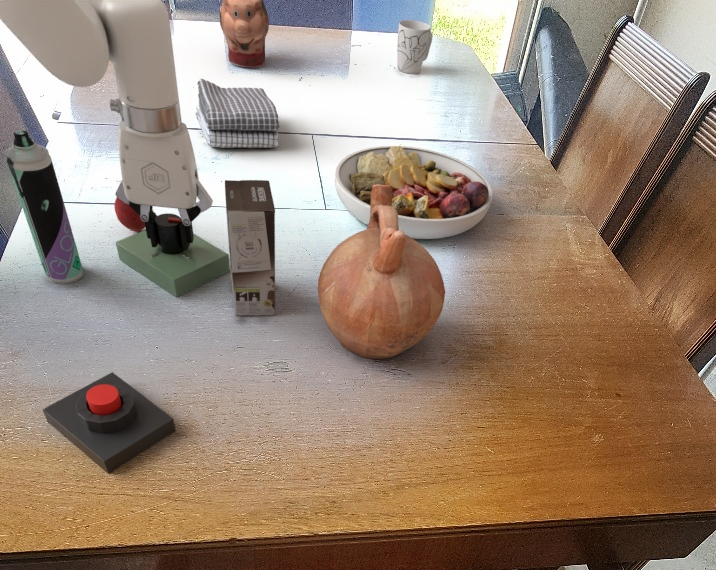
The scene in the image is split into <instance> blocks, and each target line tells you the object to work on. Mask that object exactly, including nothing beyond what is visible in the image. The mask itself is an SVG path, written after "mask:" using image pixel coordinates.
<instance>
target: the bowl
mask: <svg viewBox="0 0 716 570" xmlns="http://www.w3.org/2000/svg"><path fill="white" fill-rule="evenodd" d="M334 172H335V173H334V187H335V191H336V194H337V197H338V199H339V201H340V202H341V204H342V205H343V206H344V208H345V209H346V210H347V211H348V212H349V214H351V216H352V217H354V218H356V219H357V221H360V222H362V223H363V224H365V225H366V226H368V224H369V221H370V207H371V191H372V186H373V185H377V184H380V185H391V186H392V205H391V206H392V207H394V208H395V209H396V210H397V213H398V226H399V231H403V232H404V234H405V235H407V236H409V237H410V238H412V239H414V240H415V239H416V240H417V239H418V240H437V239H444V238H451V237H455V236H457V235H461V234H463V233H465V232H467V231H469V230H471V229H472V228H475V226H476V225H477V224H479V223H480V222H481V220H482V219H483V218H484V217H485V216H486V215H487V213H488V211H489V208H490V206H491V203H492V199H493V189H492V186H491V184H490V182H489V181H488V179H487V178H486V176H484V174H482V172H480V171H478V170H477V169H476V168H474V167H473V166H472V165H470V164H468V163H466V162H465V161H463V160H460V159H458V158H456V157H453V156H451V155H448V154H446V153H441V152H439V151H434V150H432V149H431V150H430V149H426V148H420V147H415V146H405V145H404V146H403V145H382V146H373V147H367V148H363V149H360V150H356V151H354V152H352V153H349V154H348V155H346V156H345V157H343V158H342V159H341V160H340V161H339V162H338V164H337V165H336V168H335V171H334Z"/></svg>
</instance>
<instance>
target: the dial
mask: <svg viewBox="0 0 716 570" xmlns="http://www.w3.org/2000/svg"><path fill="white" fill-rule="evenodd" d="M154 221H155V227H156V233H157V238H158V244H159V249H160V251H161V252H163V253H166V254H179V253H181V252H183V251H184V249H182V242H181V234H180V224H181V217H180V215H179V214H175V213H168V212H167V213H161V214H157V217H156V218H155V220H154Z"/></svg>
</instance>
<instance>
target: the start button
mask: <svg viewBox="0 0 716 570" xmlns="http://www.w3.org/2000/svg"><path fill="white" fill-rule="evenodd" d="M86 398H87V401H88V404H89V407H90V410H91V411H92V412H93V413H94V414H96V415H101V416H103V415H109V414H113V413H115V412H116V411H118V410H119V409H120V407H121V400H120V396H119V393H118V390H117V389H116V388H115V387H114V386H111V385H107V384H102V385H97V386H94V387H92V388H91V389H90V390H89V391H88V392H87V394H86Z"/></svg>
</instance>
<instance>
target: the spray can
mask: <svg viewBox="0 0 716 570" xmlns="http://www.w3.org/2000/svg"><path fill="white" fill-rule="evenodd" d="M13 137H14V139H13V141H12V142H11V146H10V147H8V148H7V149H6V150H5V151H4V155H5V157H6V158H5V159H6V160H5V161H6V163H7V167H8V170H9V172H10V176H11V179H12V181H13V184H14V188H15V191H16V193H17V196H18V199H19V202H20V205H21V208H22V211H23V213H24V216H25V219H26V222H27V225H28V229H29V231H30V234H31V238H32V239H33V243H34V246H35V248H36V251H37V255H38V258H39V260H40V263H41V266H42V269H43V272H44V274H45V277H46V279H47V280H48V281H50V282H51V283H54V284H60V285H63V284H64V285H65V284H70V283H74V282H77V281H79V280H81V278H82V277H84V268H83V264H82V261H81V257H80V254H79V250H78V247H77V243H76V240H75V237H74V233H73V229H72V226H71V223H70V219H69V215H68V212H67V209H66V205H65V201H64V198H63V194H62V191H61V188H60V185H59V180H58V178H57V174H56V171H55V167H54V163H53V160H52V157H51V155H50V152H49V149H48V148H47V147H45V146H43V145H41V144H38V143H36V141H35V140H34V139H32V138H31V137H30V134H29V132H28V131H27V130H22V131H16V132H13Z"/></svg>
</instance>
